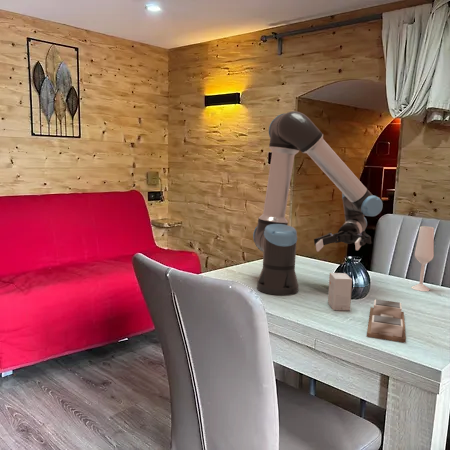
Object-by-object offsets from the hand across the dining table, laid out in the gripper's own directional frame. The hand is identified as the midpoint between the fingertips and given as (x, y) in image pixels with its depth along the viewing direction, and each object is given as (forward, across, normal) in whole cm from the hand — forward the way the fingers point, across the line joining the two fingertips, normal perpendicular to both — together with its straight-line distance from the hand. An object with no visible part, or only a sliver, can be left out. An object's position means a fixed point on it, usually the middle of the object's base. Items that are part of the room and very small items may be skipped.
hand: (336, 247), depth 154 cm
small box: (+10, -1, -18) cm, 20 cm away
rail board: (+19, -17, -19) cm, 32 cm away
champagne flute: (-30, -22, -26) cm, 46 cm away
